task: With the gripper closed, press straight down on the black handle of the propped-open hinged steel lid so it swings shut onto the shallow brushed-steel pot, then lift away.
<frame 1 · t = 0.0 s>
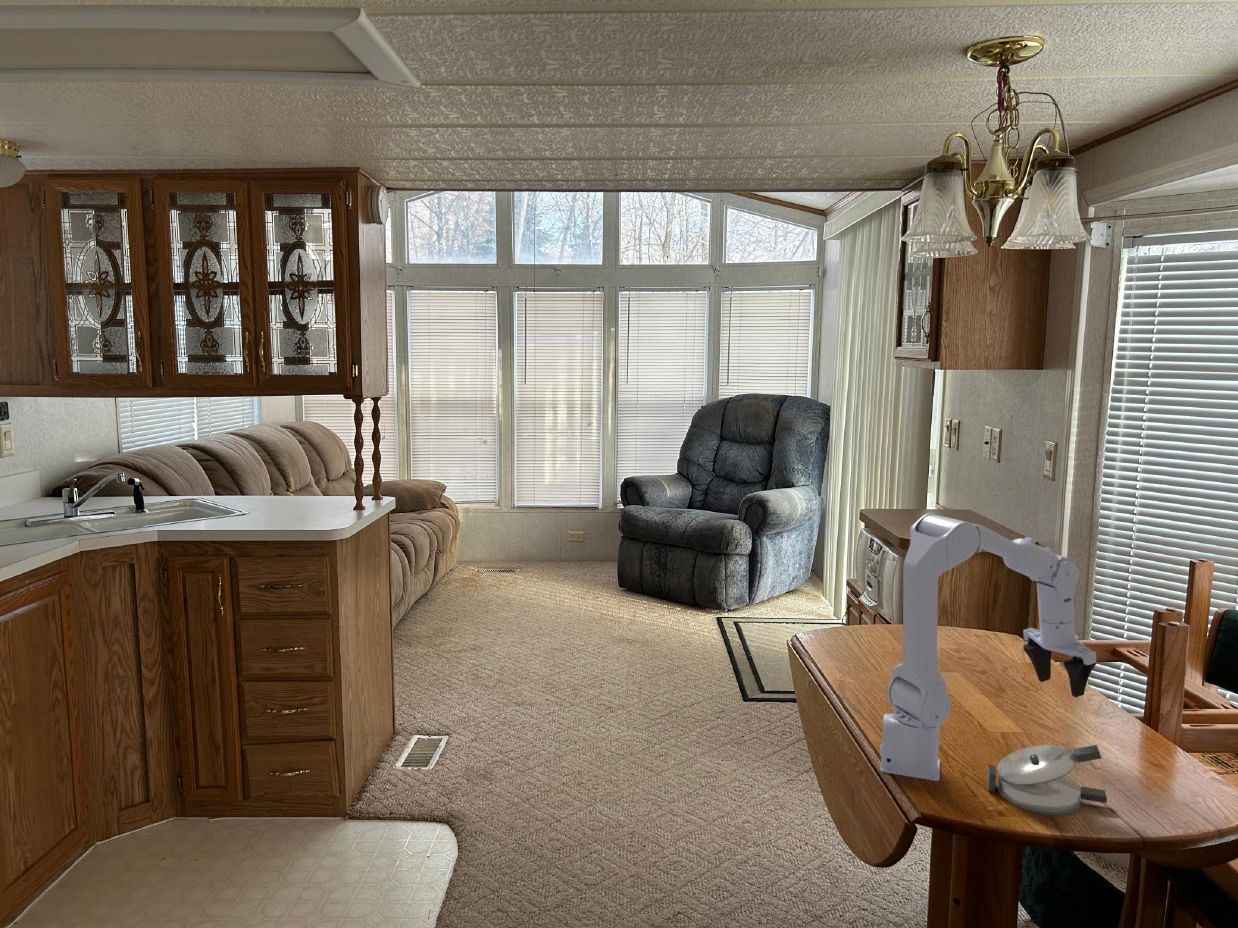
hand: (1061, 687, 157), 10 cm above the table, tool pointing down, fingers open, 7 cm apart
lid: (1046, 759, 138), point 6 cm above the table, hinge at 22.0°
pot: (1038, 795, 139), on the table
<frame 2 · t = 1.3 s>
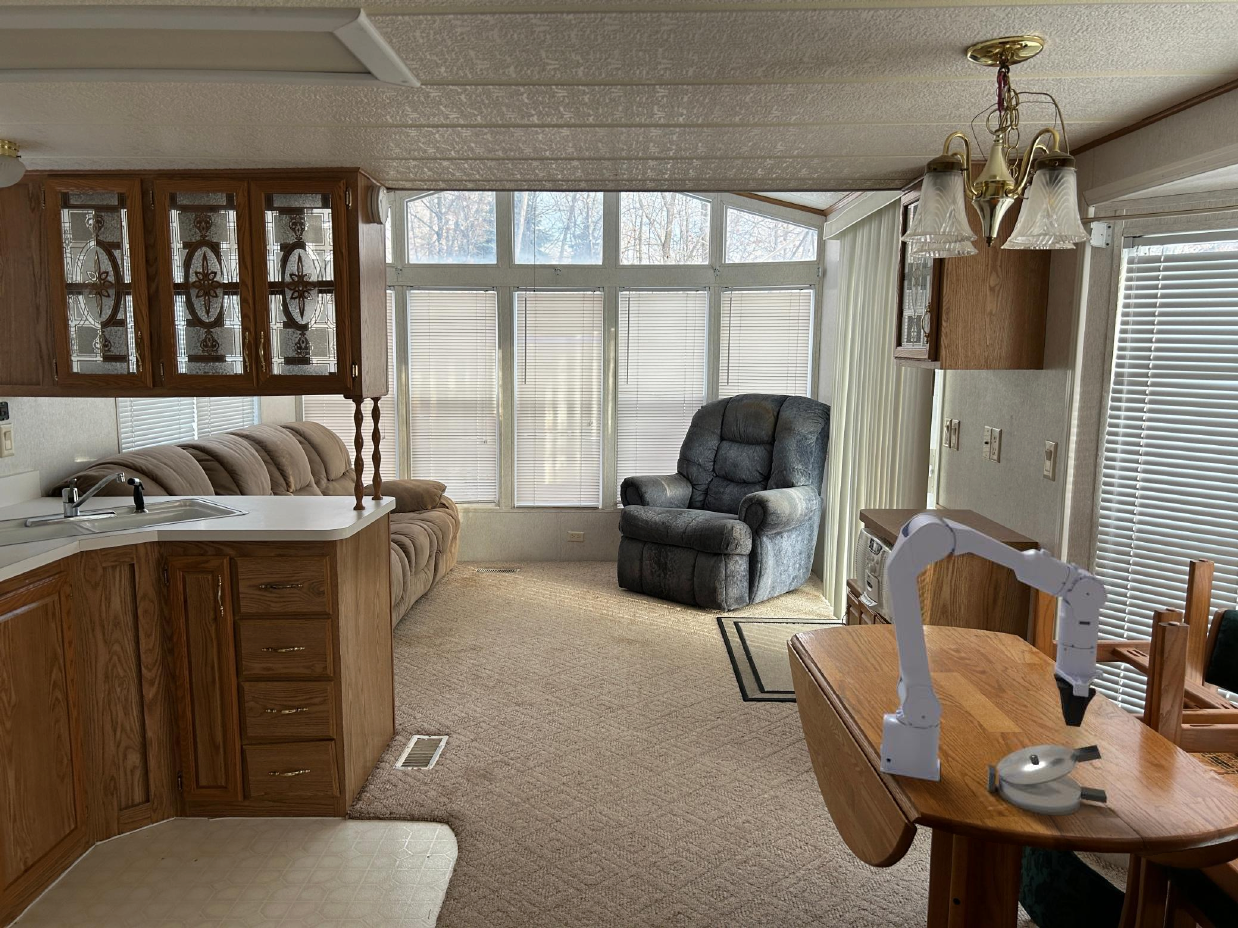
hand: (1071, 722, 142), 10 cm above the table, tool pointing down, fingers closed
nothing on the table moved.
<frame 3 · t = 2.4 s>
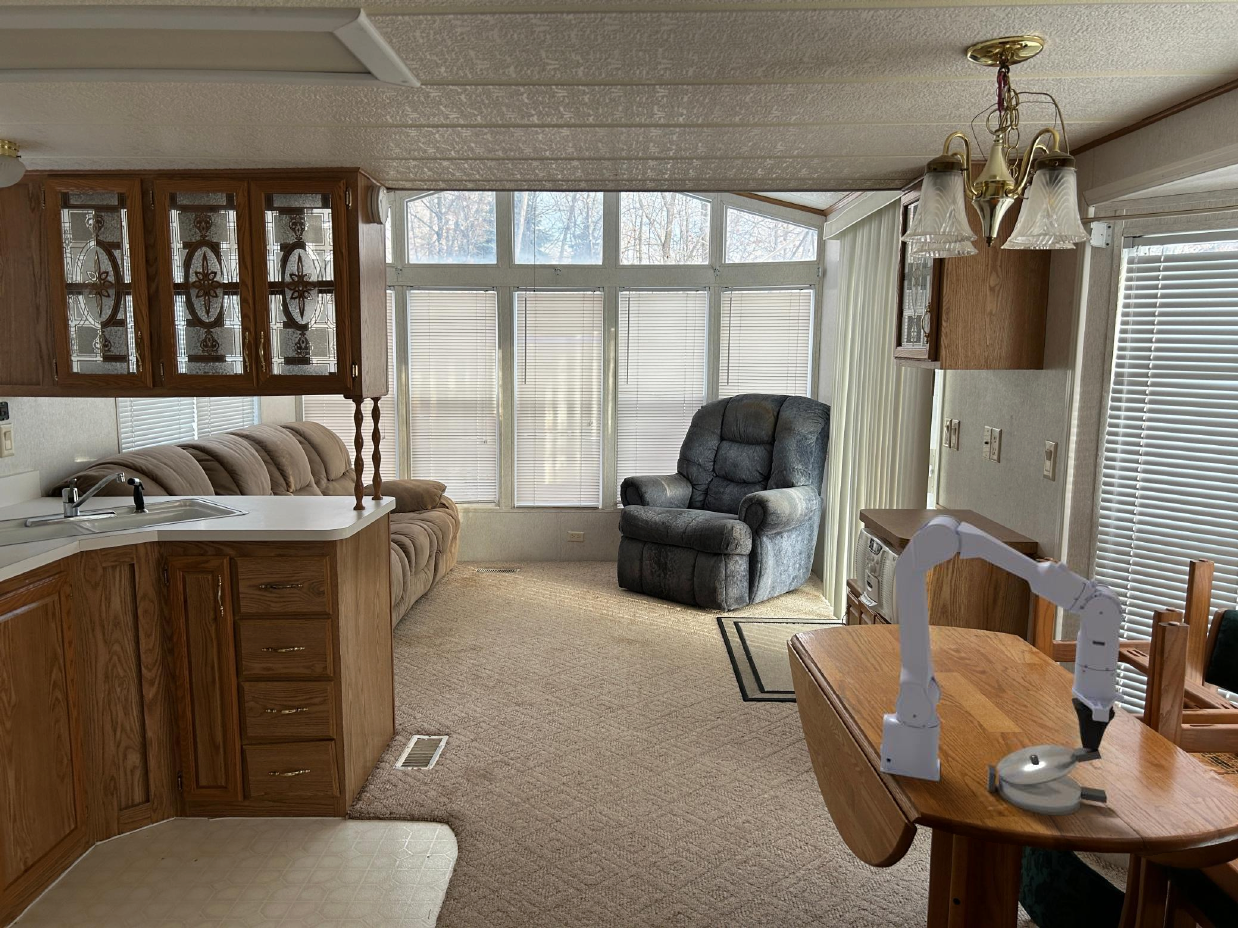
hand: (1089, 747, 135), 9 cm above the table, tool pointing down, fingers closed, pressing on lid
lid: (1046, 759, 138), point 6 cm above the table, hinge at 22.0°, touching gripper
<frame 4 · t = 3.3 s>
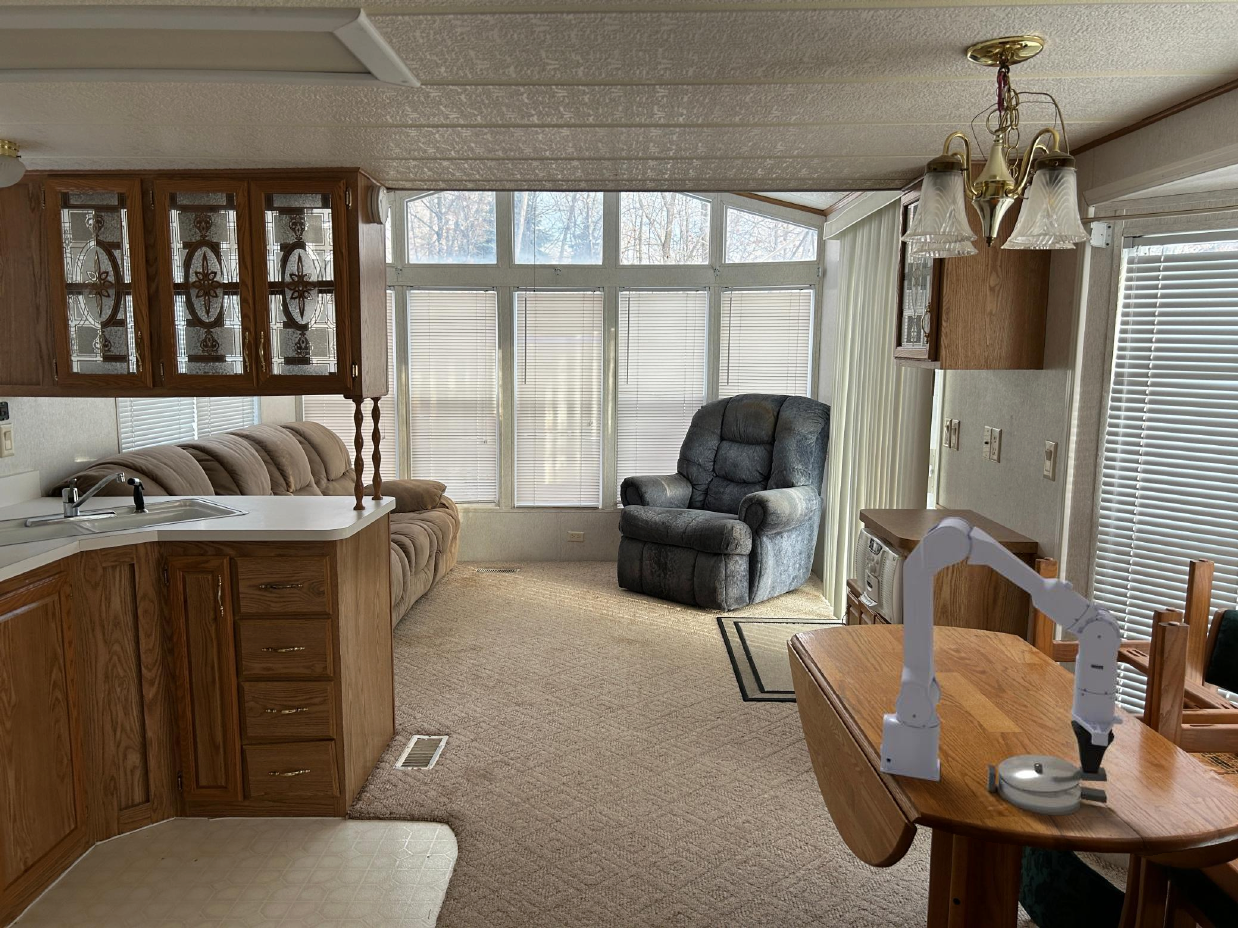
hand: (1089, 769, 135), 6 cm above the table, tool pointing down, fingers closed, pressing on lid
lid: (1050, 770, 138), point 5 cm above the table, hinge at 8.0°, touching gripper
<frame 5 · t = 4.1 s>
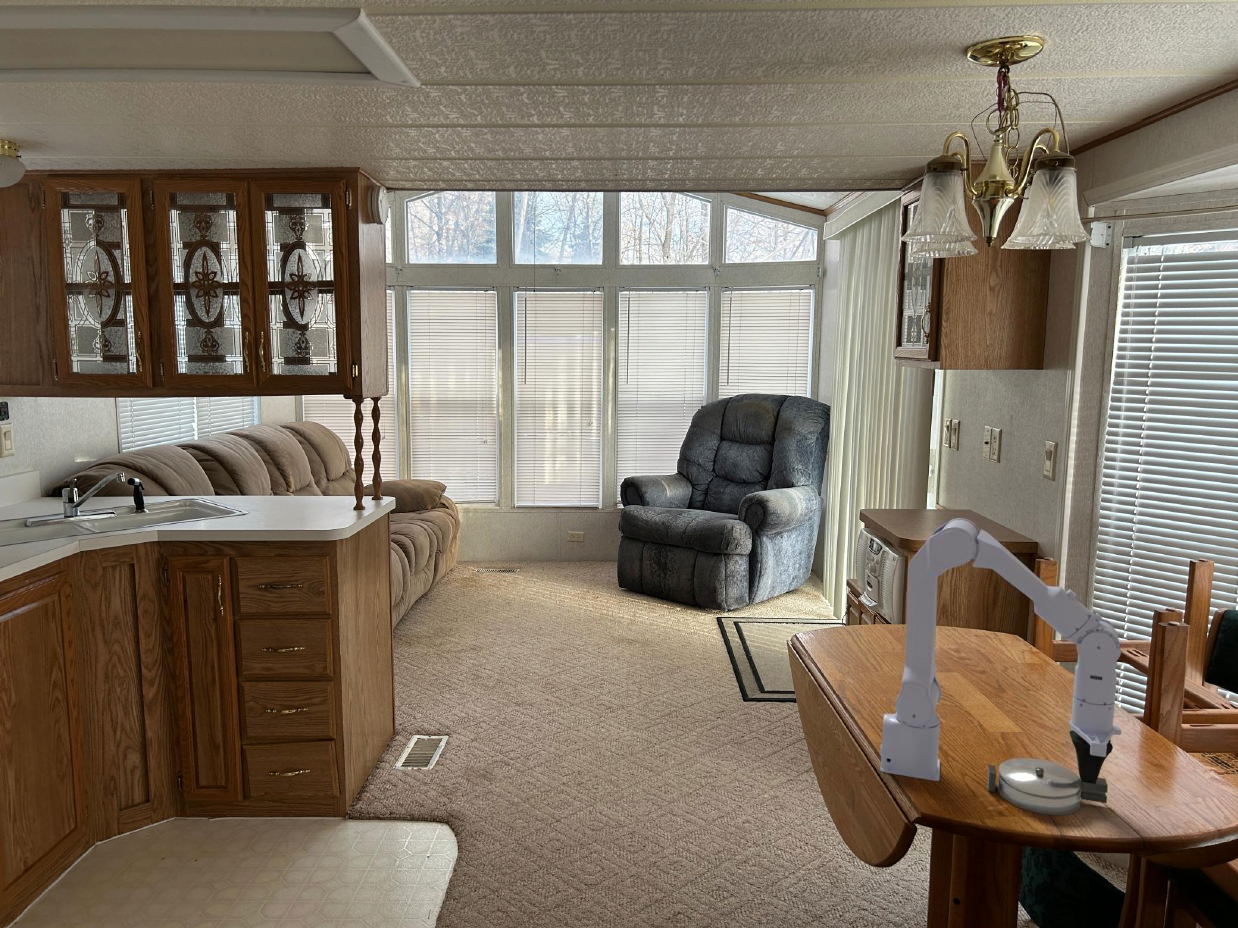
hand: (1087, 780, 136), 4 cm above the table, tool pointing down, fingers closed, pressing on lid
lid: (1051, 775, 138), point 4 cm above the table, hinge at 1.2°, touching gripper
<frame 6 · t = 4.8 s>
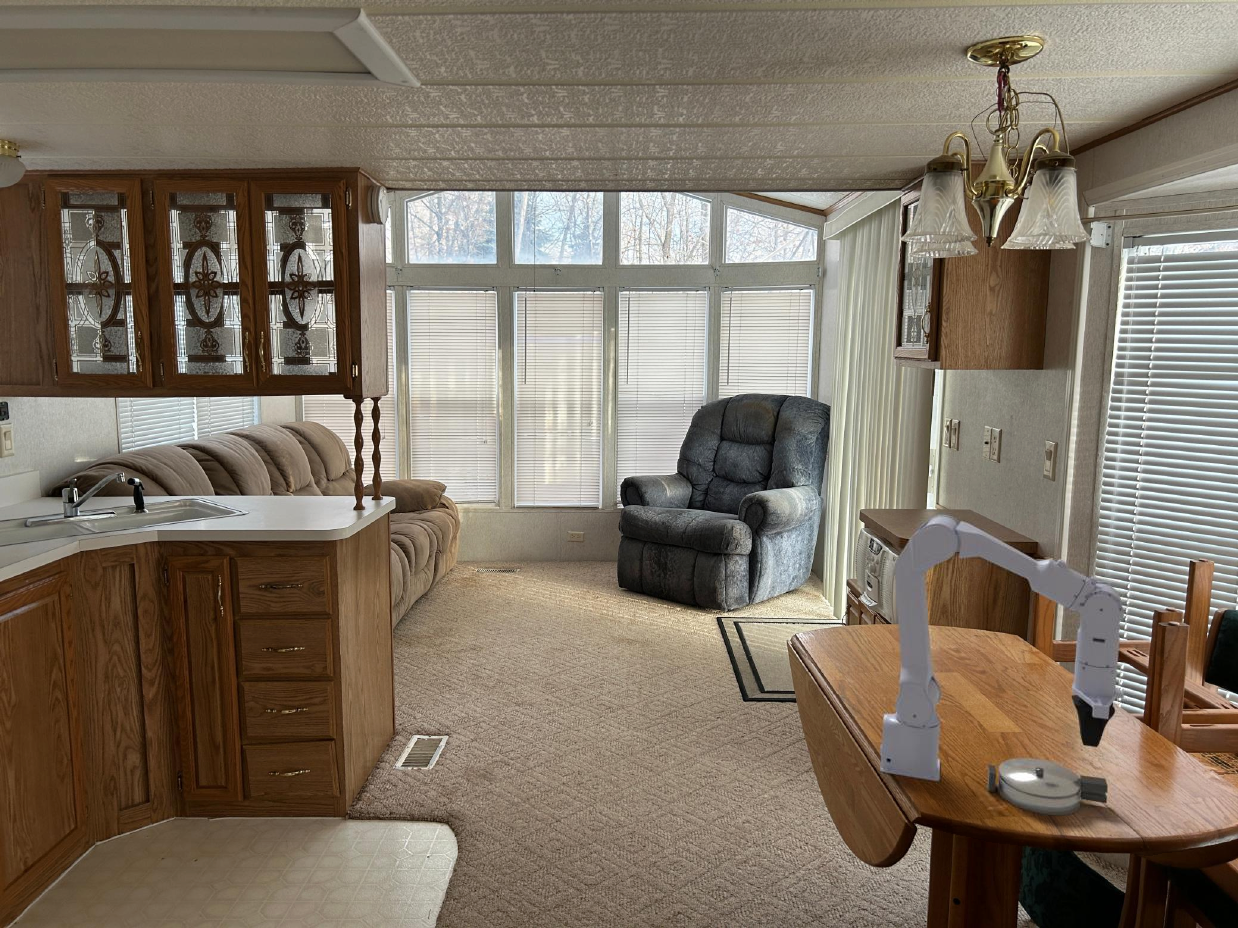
hand: (1089, 744, 135), 10 cm above the table, tool pointing down, fingers closed
lid: (1051, 775, 138), point 4 cm above the table, hinge at 1.2°
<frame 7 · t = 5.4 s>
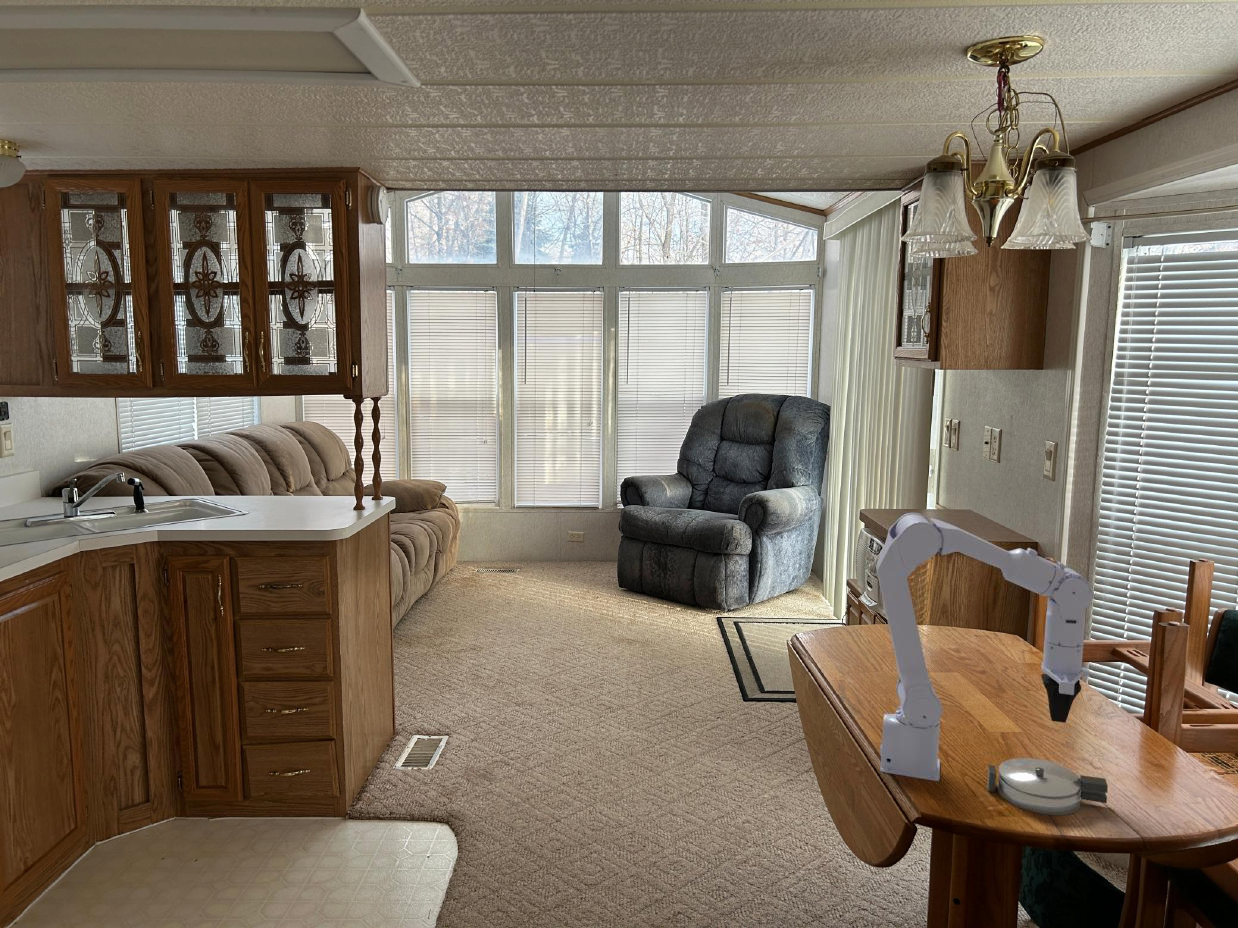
hand: (1058, 720, 143), 10 cm above the table, tool pointing down, fingers closed
nothing on the table moved.
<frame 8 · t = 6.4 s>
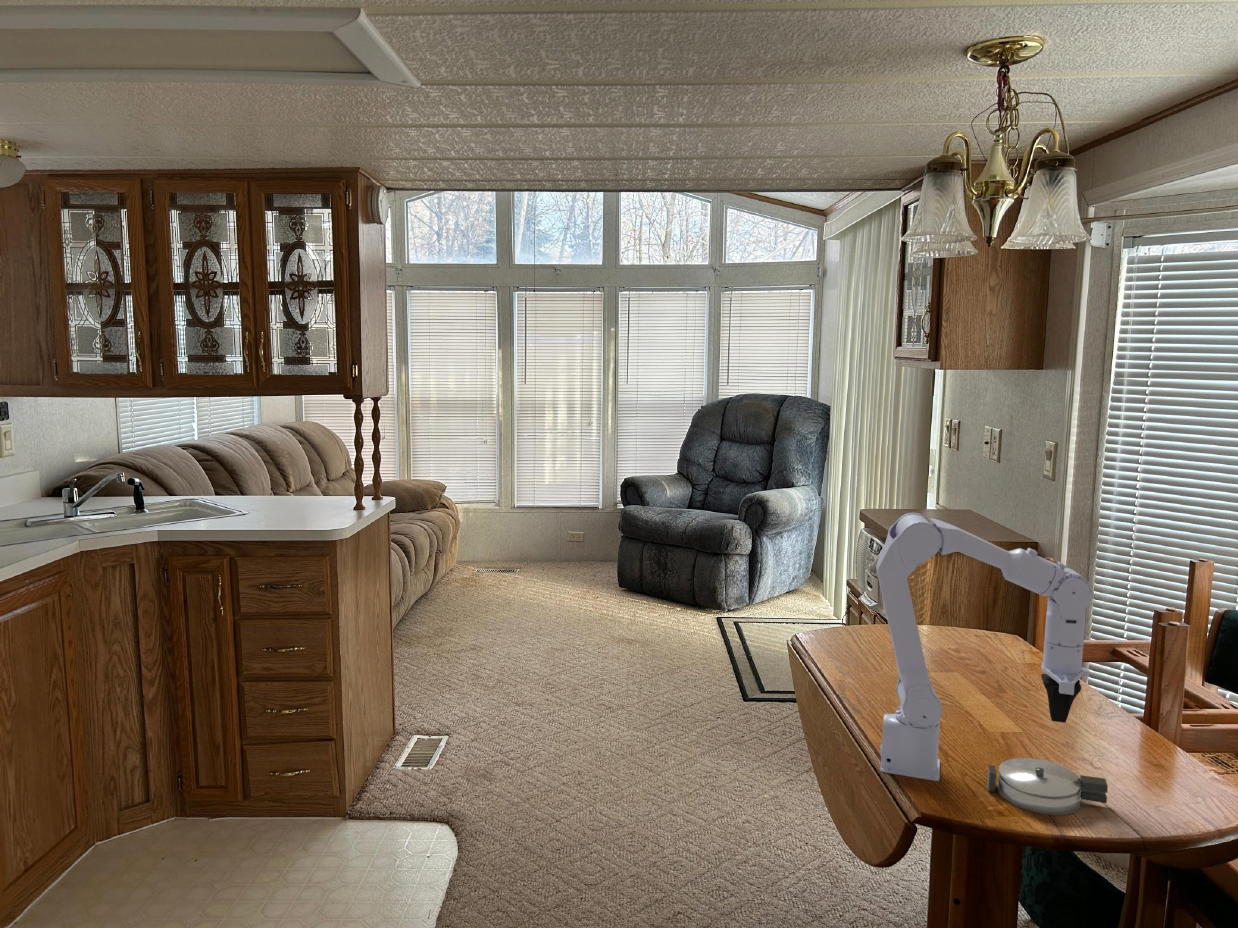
hand: (1058, 720, 143), 10 cm above the table, tool pointing down, fingers closed
nothing on the table moved.
at the end: lid at +1° (first picture: +22°); lid touching nothing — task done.
